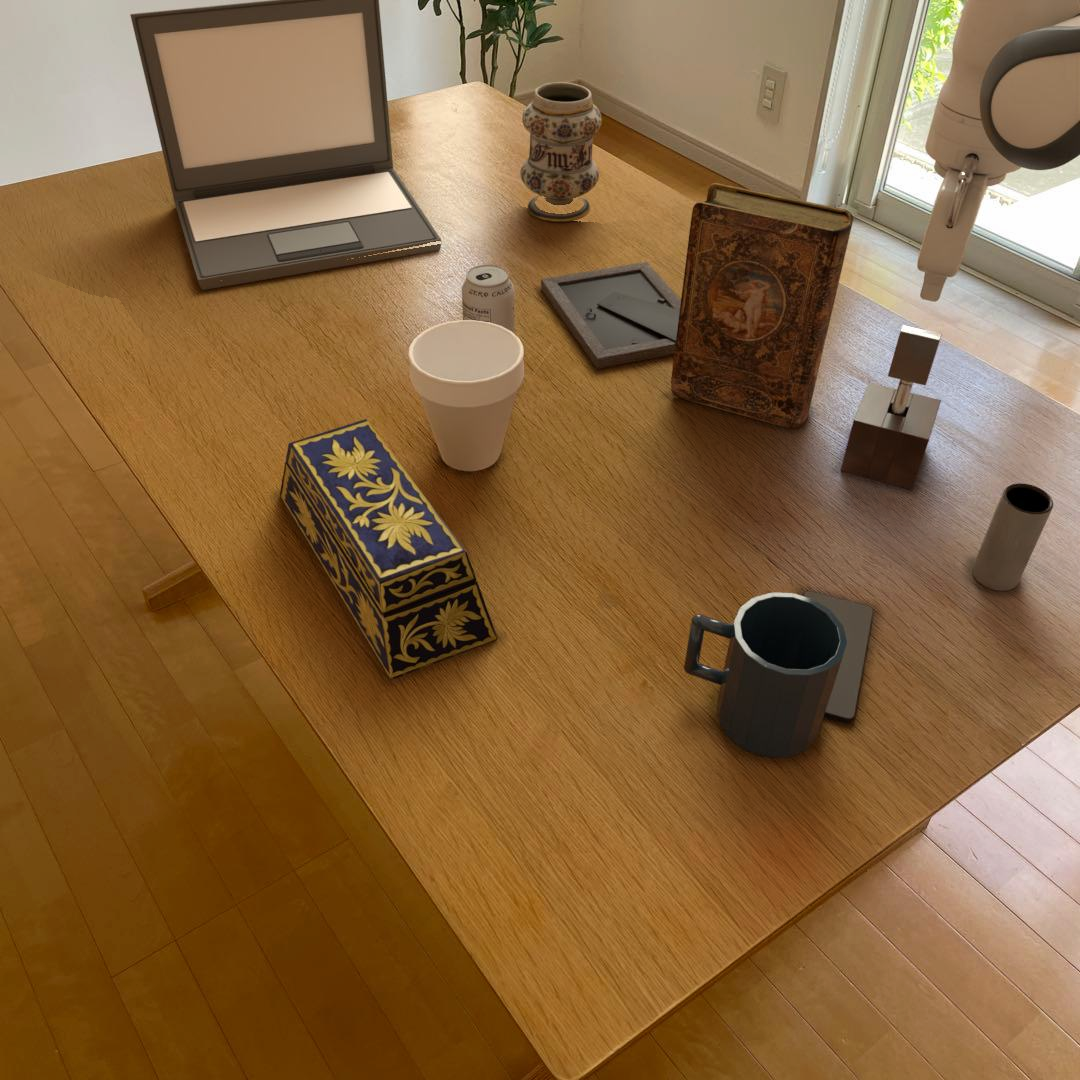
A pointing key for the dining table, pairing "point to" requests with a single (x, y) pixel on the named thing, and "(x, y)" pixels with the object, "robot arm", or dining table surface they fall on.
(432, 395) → the cup
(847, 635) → the smartphone
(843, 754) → the dining table surface
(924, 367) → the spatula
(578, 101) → the apothecary jar
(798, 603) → the grey coffee mug
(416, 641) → the decorative box
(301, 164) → the laptop
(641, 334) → the picture frame
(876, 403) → the utensil block
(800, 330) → the book
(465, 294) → the energy drink can
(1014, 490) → the grey hollow cylinder
